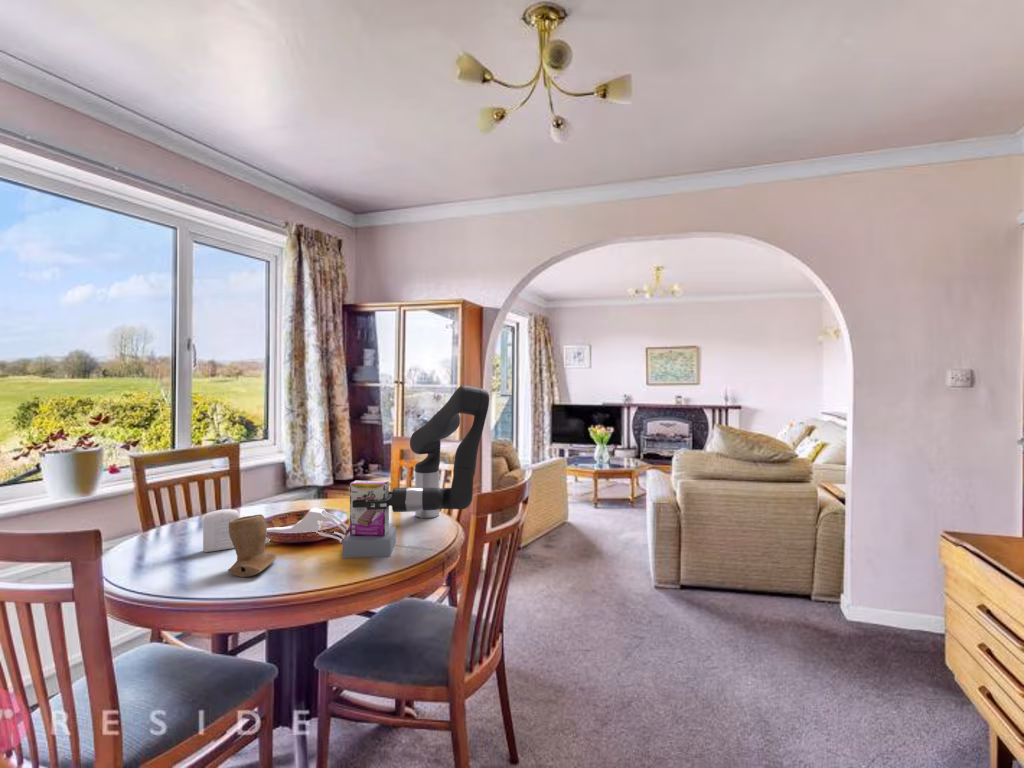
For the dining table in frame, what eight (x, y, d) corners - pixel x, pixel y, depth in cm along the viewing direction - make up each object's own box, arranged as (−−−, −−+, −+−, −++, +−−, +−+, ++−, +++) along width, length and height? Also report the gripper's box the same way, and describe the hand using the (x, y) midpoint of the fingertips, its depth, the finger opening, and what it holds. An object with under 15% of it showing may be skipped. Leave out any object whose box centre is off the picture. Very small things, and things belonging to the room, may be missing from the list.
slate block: (352, 543, 177) (351, 528, 177) (395, 542, 178) (395, 527, 178) (342, 558, 163) (342, 541, 163) (390, 556, 164) (390, 539, 164)
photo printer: (239, 544, 177) (238, 506, 177) (240, 547, 173) (240, 509, 173) (202, 550, 171) (202, 510, 171) (203, 553, 168) (203, 513, 167)
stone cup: (240, 560, 161) (239, 510, 161) (281, 560, 162) (281, 509, 161) (214, 580, 146) (214, 524, 146) (260, 579, 146) (259, 523, 146)
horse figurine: (333, 565, 183) (261, 538, 180) (352, 519, 183) (280, 492, 181) (329, 570, 178) (255, 543, 176) (349, 523, 178) (275, 496, 176)
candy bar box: (349, 536, 168) (348, 483, 168) (354, 531, 173) (354, 480, 173) (385, 536, 167) (384, 483, 167) (389, 532, 172) (389, 480, 172)
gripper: (410, 483, 178) (359, 484, 177) (405, 492, 164) (350, 493, 163) (410, 506, 178) (359, 507, 177) (406, 517, 164) (350, 518, 163)
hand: (355, 500), depth 170 cm, fingers open, 8 cm apart
